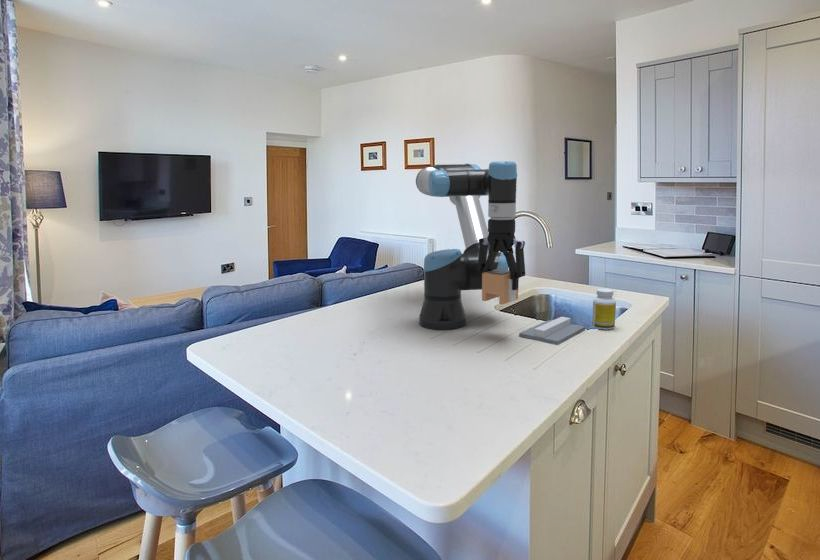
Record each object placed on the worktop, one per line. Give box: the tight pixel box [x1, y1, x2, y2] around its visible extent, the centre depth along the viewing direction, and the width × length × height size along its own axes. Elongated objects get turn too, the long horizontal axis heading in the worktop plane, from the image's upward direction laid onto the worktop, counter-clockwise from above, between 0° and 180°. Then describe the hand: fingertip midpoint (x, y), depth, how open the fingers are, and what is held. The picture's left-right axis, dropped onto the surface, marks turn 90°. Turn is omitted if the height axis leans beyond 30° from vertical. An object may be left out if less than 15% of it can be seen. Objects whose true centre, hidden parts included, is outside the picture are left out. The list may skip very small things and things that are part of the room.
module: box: [481, 269, 519, 305], centre depth 143 cm, size 7×8×8 cm
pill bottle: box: [591, 288, 617, 331], centre depth 152 cm, size 6×6×12 cm
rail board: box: [518, 316, 586, 346], centre depth 148 cm, size 12×18×3 cm, turn 138°
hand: (500, 298), depth 144 cm, fingers closed on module, 7 cm apart
